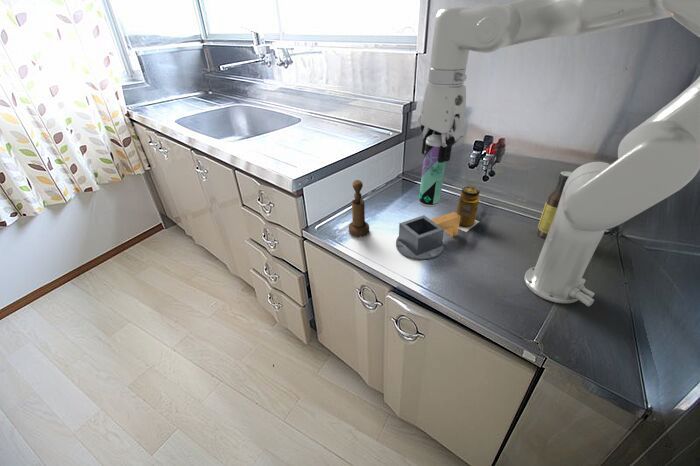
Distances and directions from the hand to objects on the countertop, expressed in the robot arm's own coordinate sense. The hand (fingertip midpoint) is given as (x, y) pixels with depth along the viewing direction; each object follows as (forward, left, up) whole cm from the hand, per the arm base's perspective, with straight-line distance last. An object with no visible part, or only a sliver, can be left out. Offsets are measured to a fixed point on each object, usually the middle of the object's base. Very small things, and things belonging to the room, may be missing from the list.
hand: (435, 156), depth 79 cm
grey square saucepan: (+1, -2, -28) cm, 28 cm away
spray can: (0, 0, -13) cm, 13 cm away
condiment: (+5, -19, -28) cm, 35 cm away
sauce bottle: (-14, -36, -28) cm, 48 cm away
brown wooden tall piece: (+18, +13, -28) cm, 36 cm away
